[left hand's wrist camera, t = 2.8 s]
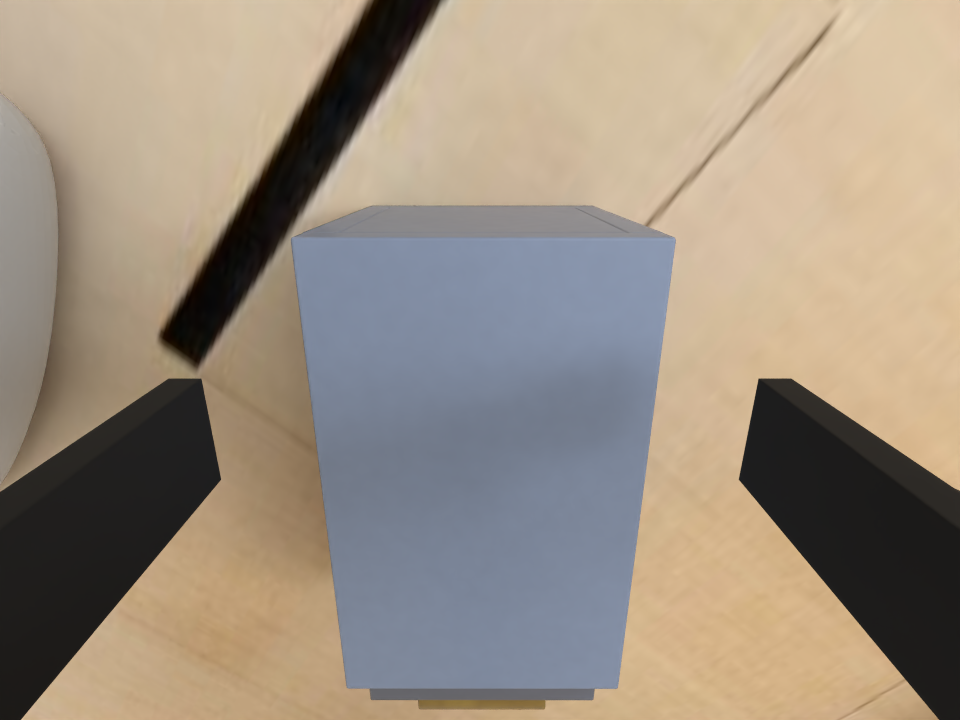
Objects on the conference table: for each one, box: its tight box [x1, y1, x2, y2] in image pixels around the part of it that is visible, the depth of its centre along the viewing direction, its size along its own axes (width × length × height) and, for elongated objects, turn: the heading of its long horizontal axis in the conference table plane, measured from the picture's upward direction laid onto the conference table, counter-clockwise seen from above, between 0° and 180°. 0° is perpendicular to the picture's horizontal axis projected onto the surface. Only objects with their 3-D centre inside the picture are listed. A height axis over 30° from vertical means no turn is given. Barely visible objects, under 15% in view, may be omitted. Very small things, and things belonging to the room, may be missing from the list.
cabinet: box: [291, 206, 676, 689], centre depth 23 cm, size 17×11×11 cm, turn 0°
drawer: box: [370, 689, 594, 709], centre depth 24 cm, size 21×9×9 cm, turn 0°
